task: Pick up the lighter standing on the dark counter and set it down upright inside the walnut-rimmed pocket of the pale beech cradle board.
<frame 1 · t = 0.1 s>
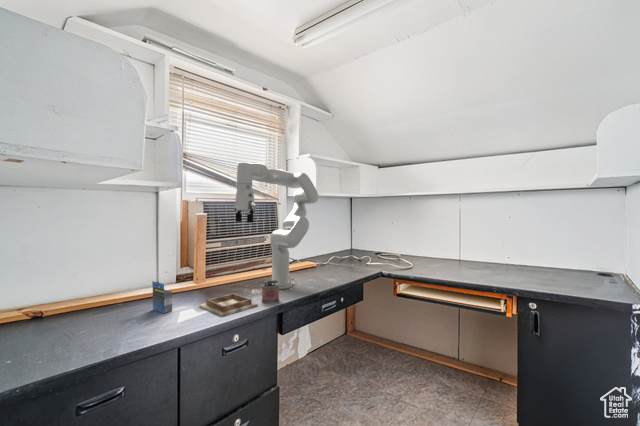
hand: (244, 222, 151), 37 cm above the table, tool pointing down, fingers open, 9 cm apart
cradle: (228, 306, 136), on the table
label tape cartridge: (162, 311, 130), on the table
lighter: (270, 301, 143), on the table
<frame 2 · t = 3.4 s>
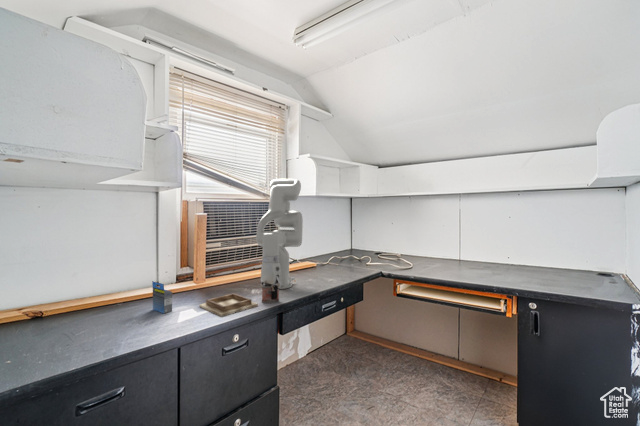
hand: (270, 297, 143), 2 cm above the table, tool pointing down, fingers closed on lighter, 4 cm apart
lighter: (270, 301, 143), on the table, touching gripper
everything else where it was.
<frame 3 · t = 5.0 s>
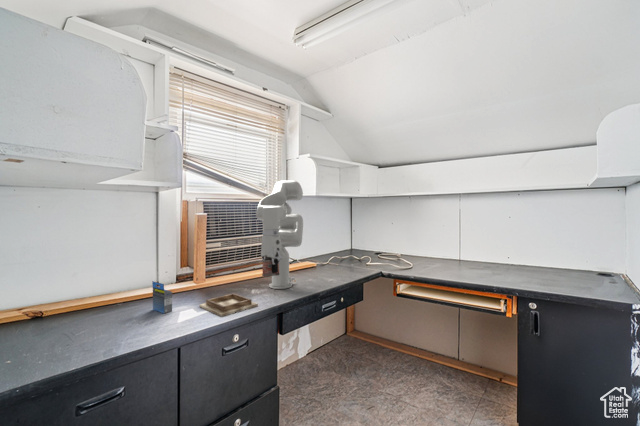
hand: (270, 271, 143), 14 cm above the table, tool pointing down, fingers closed on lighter, 4 cm apart
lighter: (270, 275, 143), point 12 cm above the table, touching gripper
everything else where it was.
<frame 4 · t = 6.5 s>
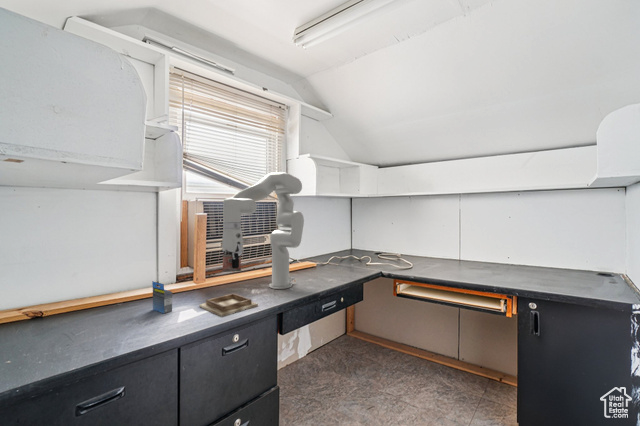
hand: (231, 266, 136), 18 cm above the table, tool pointing down, fingers closed on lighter, 4 cm apart
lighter: (231, 271, 135), point 16 cm above the table, touching gripper
everything else where it was.
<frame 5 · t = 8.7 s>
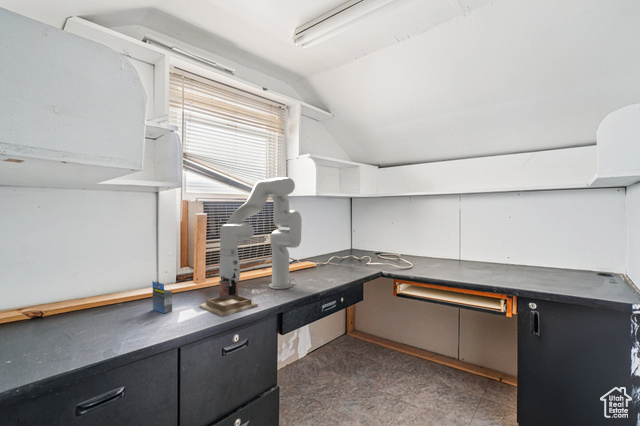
hand: (228, 292, 135), 6 cm above the table, tool pointing down, fingers closed on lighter, 4 cm apart
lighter: (228, 297, 135), point 4 cm above the table, touching gripper
everything else where it was.
when the fingers open (4 cm above the table, at t = 9.6 s): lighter stays where it is, resting on cradle.
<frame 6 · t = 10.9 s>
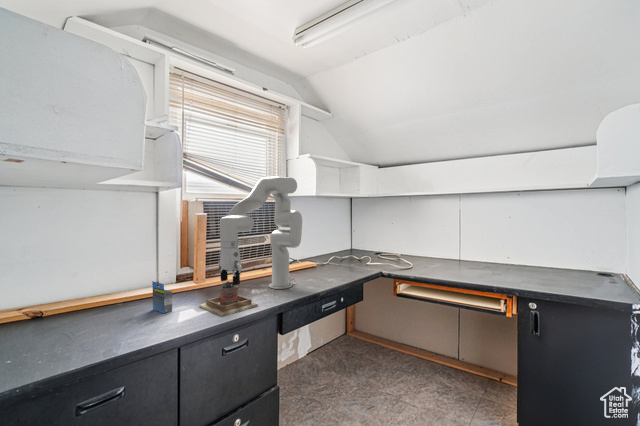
hand: (230, 282, 136), 10 cm above the table, tool pointing down, fingers open, 9 cm apart
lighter: (229, 304, 136), point 1 cm above the table, touching cradle
everything else where it was.
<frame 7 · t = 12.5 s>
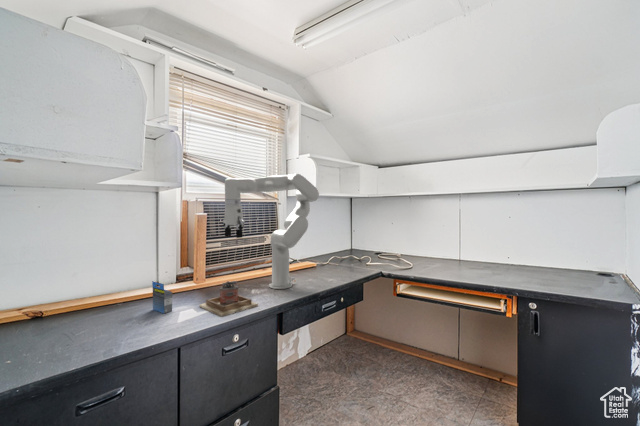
hand: (233, 236, 154), 29 cm above the table, tool pointing down, fingers open, 9 cm apart
nothing on the table moved.
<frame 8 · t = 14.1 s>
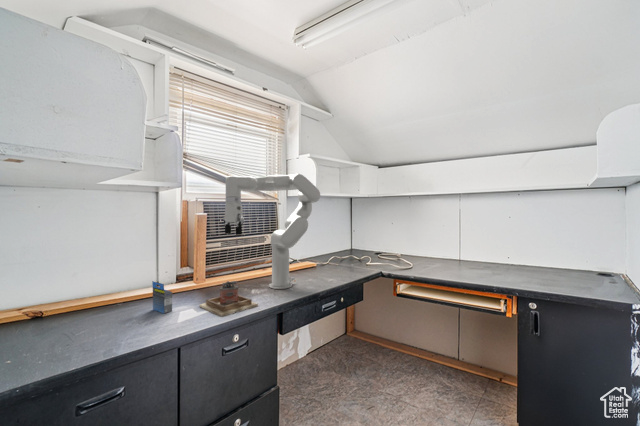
hand: (233, 233, 156), 30 cm above the table, tool pointing down, fingers open, 9 cm apart
nothing on the table moved.
at the end: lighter 0.3 cm off-centre on the cradle, point 0.8 cm above the cradle's base; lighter tilted 0°; the gripper is holding nothing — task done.
